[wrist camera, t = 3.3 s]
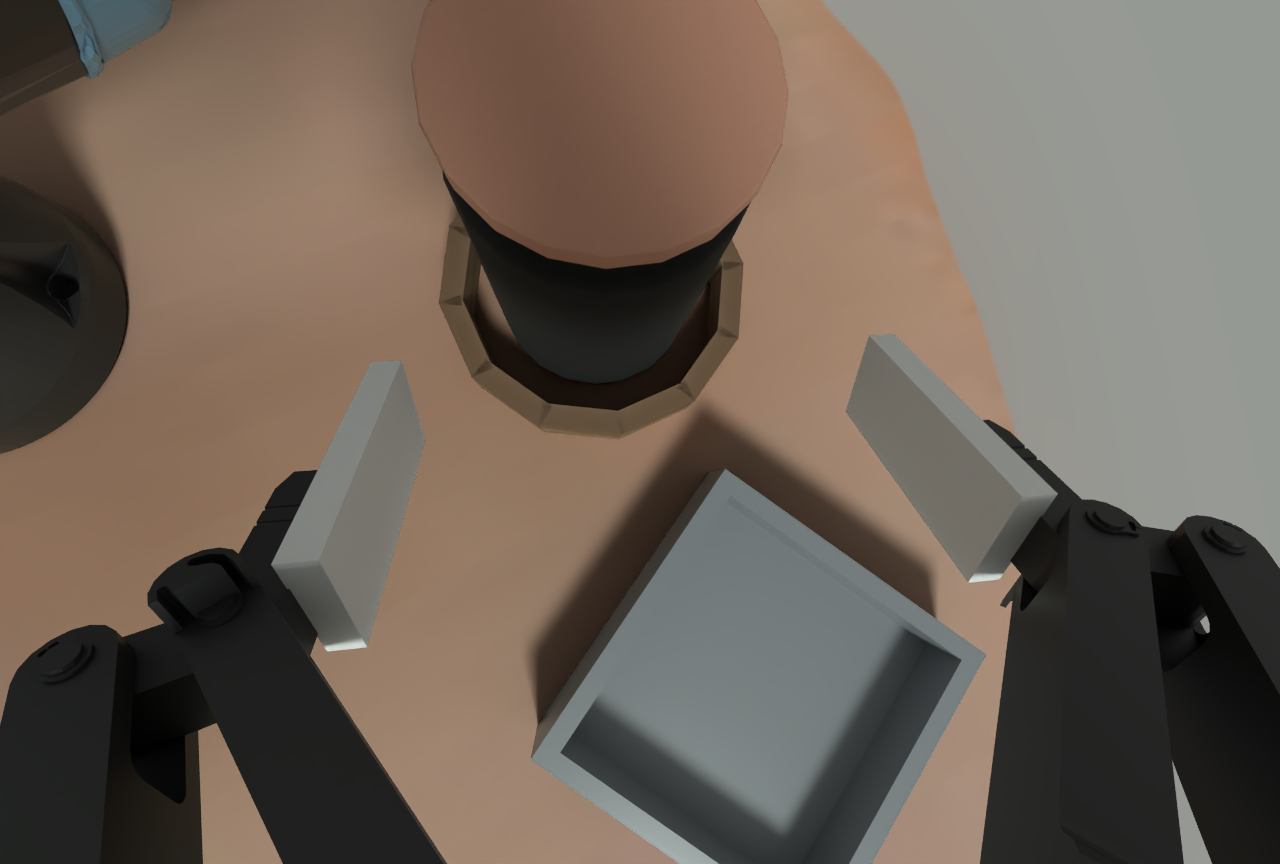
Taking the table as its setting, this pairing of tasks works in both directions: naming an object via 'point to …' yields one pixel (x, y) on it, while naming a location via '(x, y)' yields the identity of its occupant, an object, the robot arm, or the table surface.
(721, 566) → the tray
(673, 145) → the coffee jar
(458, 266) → the ring guard
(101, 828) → the robot arm
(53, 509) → the table surface
